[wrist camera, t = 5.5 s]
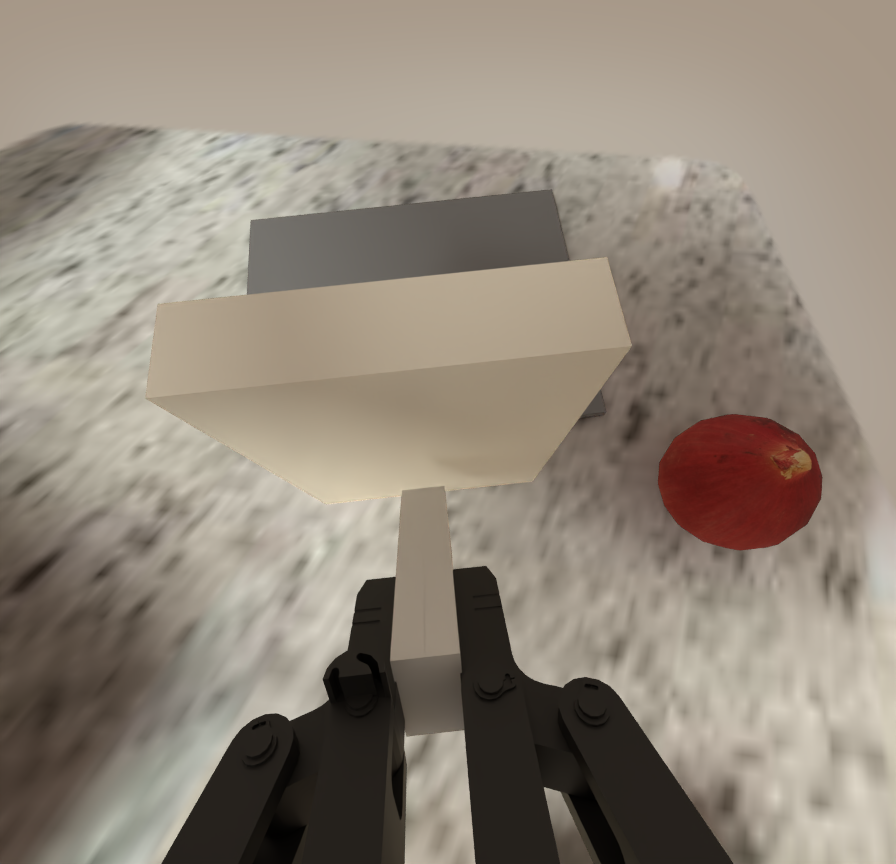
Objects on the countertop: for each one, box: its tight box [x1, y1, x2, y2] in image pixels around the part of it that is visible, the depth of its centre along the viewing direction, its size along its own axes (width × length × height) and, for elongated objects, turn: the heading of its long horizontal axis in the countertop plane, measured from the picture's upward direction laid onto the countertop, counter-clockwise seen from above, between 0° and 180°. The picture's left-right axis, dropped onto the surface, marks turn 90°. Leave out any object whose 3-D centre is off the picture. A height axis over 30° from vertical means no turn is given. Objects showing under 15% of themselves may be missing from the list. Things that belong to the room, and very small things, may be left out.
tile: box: [145, 257, 632, 504], centre depth 17 cm, size 11×3×14 cm, turn 96°
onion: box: [658, 414, 822, 550], centre depth 19 cm, size 6×6×8 cm
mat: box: [247, 189, 606, 418], centre depth 26 cm, size 16×20×1 cm
